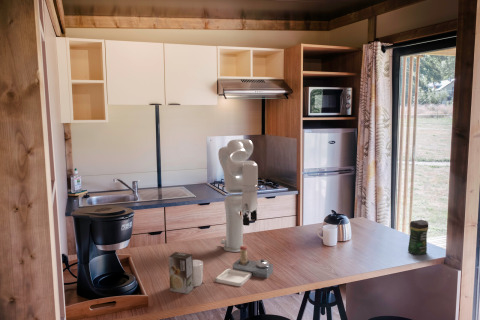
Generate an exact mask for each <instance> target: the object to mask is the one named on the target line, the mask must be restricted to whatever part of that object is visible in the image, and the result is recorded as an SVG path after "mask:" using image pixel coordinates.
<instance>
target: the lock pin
mask: <svg viewBox="0 0 480 320" xmlns="http://www.w3.org/2000/svg"><path fill="white" fill-rule="evenodd" d="M239 259H240V264H244V265H246V264H247V260H248V246H247V245H245V246H240V252H239Z"/></svg>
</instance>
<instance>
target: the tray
mask: <svg viewBox="0 0 480 320" xmlns="http://www.w3.org/2000/svg"><path fill="white" fill-rule="evenodd" d="M252 277H253V276H252V273H250V272H244V271H239V270H234V269H233V268H226V269H225V270H224V271H222V272H221V273H220V274H219V275H218V276H216V277H215V278H214V282H216V283H219V284H220V283H221V284H225V285H228V286H229V285H230V286H231V285H232V286H236V287H240V288H241V287H242V286H243V285H244V284H245V283H246V282H247V281H248V280H249V279H251V278H252Z"/></svg>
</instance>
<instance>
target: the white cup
mask: <svg viewBox="0 0 480 320" xmlns="http://www.w3.org/2000/svg"><path fill="white" fill-rule="evenodd" d="M203 271H204V261H203V260H200V259H193V288H194V287H199V286H201V285H202V284H203V274H204V272H203Z"/></svg>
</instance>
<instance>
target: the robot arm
mask: <svg viewBox="0 0 480 320" xmlns="http://www.w3.org/2000/svg"><path fill="white" fill-rule="evenodd" d="M253 152H254V143H253V142H252V140H250V139H247V138H245V139H241V138H239V139H231V140H230V141H229V142H228V141H227V144H226V146H223V147H220V148H219V150H218V152H217V153H218V154H217V155H218V161H219V163H220V166H221V169H222V172H223V182H224V187H225V188H224V189H225V191H226V192H227V193H229V194H230V195H227V196H225V199H224V201H223V203H224V210H225V229H226V230H225V236H226V237H225V238H226V239H220V244H221V245H223V250H224V251H225V252H230V253H238V252H239V253H240V246H246V245H245V244H243V243H244V242H243V241H244V238H243V237H244V235H243V234H244V232H243V231H244V230H243V228H244V227H243V226H247V227H248V226H250V221H255V222H256V221H257V220H258V218H257V217H258V191H259V190H258V189H259V187H258V186H259V184H258V183H259V182H258V179H259V171H258V170H259V168H258V167H259V166H258V164H257V163H256V162H255V161H254V160H248V159H249V158H250V157H251V156H252V154H253ZM241 193H242V194H241ZM240 212H242V215H241V214H240Z"/></svg>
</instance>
